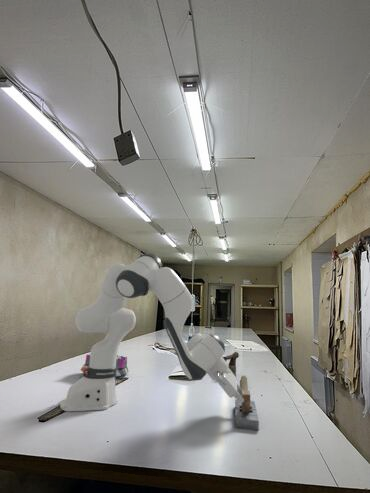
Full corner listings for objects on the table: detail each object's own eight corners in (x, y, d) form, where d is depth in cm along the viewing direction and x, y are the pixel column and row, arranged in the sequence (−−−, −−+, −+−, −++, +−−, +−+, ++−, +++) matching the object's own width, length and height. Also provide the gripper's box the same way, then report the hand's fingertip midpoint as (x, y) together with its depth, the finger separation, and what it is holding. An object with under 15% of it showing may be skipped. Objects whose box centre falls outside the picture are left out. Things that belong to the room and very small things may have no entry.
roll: (247, 381, 171) (247, 375, 172) (249, 405, 130) (249, 398, 130) (240, 380, 172) (240, 375, 173) (241, 404, 131) (241, 397, 131)
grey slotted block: (235, 427, 105) (235, 418, 105) (235, 406, 126) (235, 399, 127) (258, 430, 104) (258, 420, 104) (254, 408, 125) (254, 401, 125)
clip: (242, 419, 112) (242, 394, 114) (241, 414, 118) (241, 390, 119) (250, 420, 112) (250, 394, 114) (249, 415, 117) (249, 390, 119)
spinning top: (104, 382, 150) (108, 350, 154) (68, 374, 165) (73, 345, 169) (138, 378, 172) (141, 350, 176) (104, 371, 186) (107, 346, 190)
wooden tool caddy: (242, 375, 184) (242, 352, 186) (230, 379, 171) (230, 355, 174) (230, 373, 188) (231, 351, 191) (218, 377, 176) (218, 353, 179)
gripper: (223, 369, 110) (249, 400, 107) (224, 359, 130) (247, 385, 127) (210, 381, 110) (237, 412, 107) (213, 369, 130) (236, 395, 127)
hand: (242, 397), depth 117 cm, fingers open, 8 cm apart
